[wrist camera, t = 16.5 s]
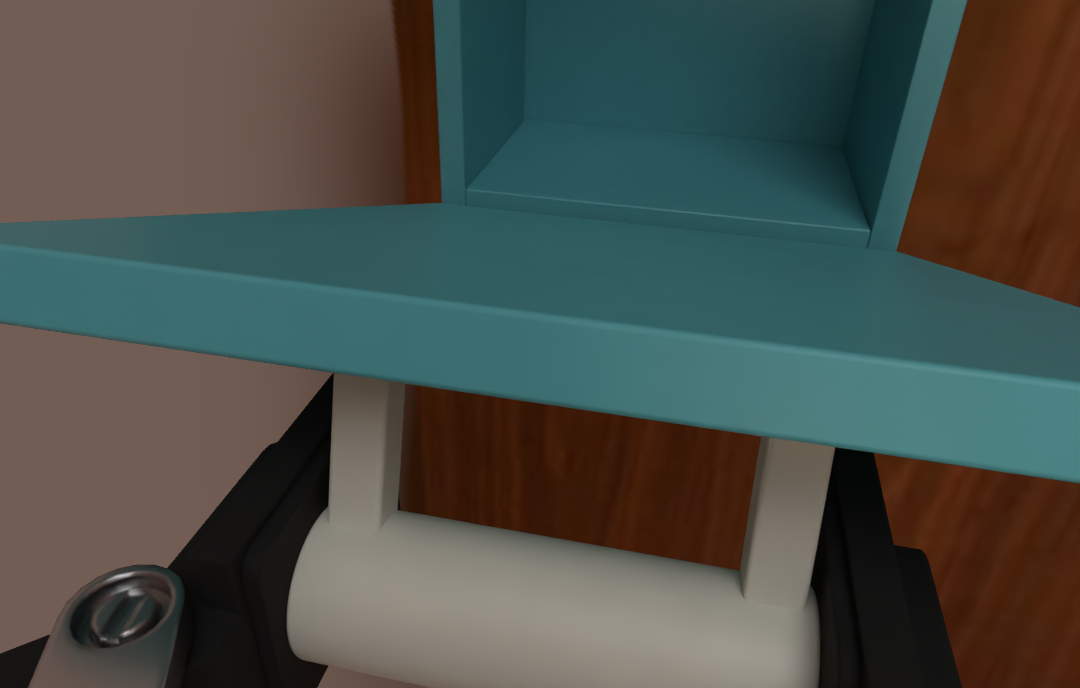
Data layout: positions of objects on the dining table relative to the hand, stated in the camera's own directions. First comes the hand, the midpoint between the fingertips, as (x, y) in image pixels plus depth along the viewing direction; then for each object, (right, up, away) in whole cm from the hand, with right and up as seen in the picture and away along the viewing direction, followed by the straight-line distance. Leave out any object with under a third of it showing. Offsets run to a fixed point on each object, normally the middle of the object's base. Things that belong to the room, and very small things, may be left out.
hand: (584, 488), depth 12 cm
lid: (+1, +4, +3) cm, 5 cm away
